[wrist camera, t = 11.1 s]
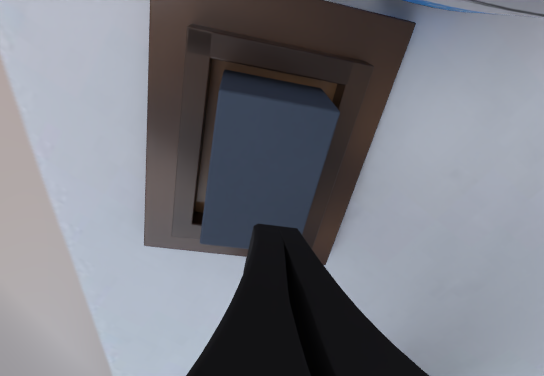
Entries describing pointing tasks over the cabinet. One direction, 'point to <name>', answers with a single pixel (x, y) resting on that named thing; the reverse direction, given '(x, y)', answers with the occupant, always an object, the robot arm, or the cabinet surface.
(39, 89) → the cabinet surface
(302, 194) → the dark blue block
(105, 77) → the cabinet surface
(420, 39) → the cabinet surface
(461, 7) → the ink box
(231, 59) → the brown wooden tray
